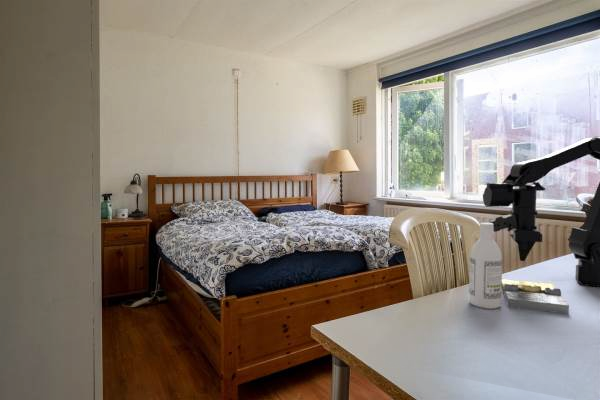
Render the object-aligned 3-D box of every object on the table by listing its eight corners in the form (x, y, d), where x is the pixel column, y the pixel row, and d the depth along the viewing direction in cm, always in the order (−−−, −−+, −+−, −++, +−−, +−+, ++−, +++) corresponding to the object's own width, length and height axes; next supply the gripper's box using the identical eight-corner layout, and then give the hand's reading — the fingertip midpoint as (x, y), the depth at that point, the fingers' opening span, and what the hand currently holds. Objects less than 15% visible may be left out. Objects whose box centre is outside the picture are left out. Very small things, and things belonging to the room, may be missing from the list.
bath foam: (505, 304, 89) (508, 223, 87) (493, 311, 85) (495, 226, 83) (477, 297, 94) (478, 220, 93) (464, 303, 90) (465, 223, 88)
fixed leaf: (558, 300, 91) (558, 287, 91) (568, 313, 83) (569, 300, 82) (503, 294, 96) (504, 282, 96) (508, 306, 87) (508, 293, 87)
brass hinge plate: (551, 291, 98) (551, 279, 98) (560, 302, 90) (560, 289, 89) (500, 286, 103) (501, 275, 103) (504, 296, 94) (505, 284, 94)
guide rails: (550, 286, 102) (550, 283, 102) (561, 299, 91) (561, 296, 91) (495, 280, 107) (495, 278, 107) (499, 293, 97) (500, 290, 97)
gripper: (489, 203, 115) (488, 251, 116) (494, 209, 98) (493, 266, 99) (530, 203, 111) (528, 254, 112) (543, 210, 94) (541, 270, 95)
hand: (522, 260), depth 105 cm, fingers closed
